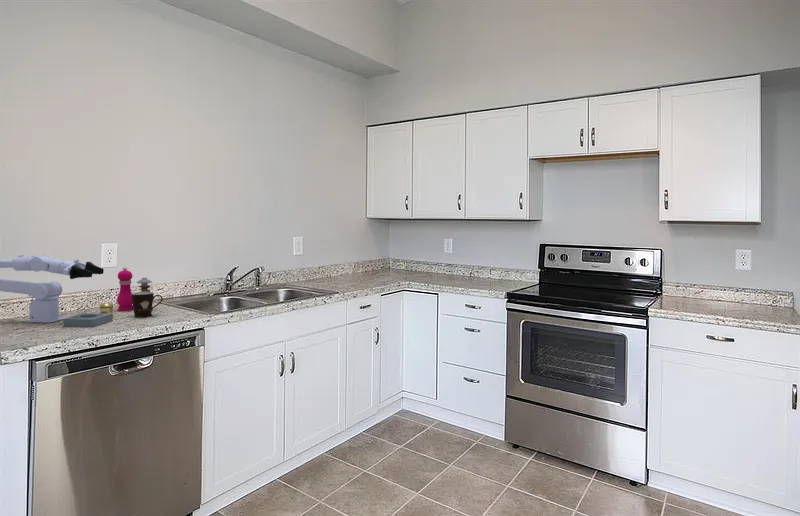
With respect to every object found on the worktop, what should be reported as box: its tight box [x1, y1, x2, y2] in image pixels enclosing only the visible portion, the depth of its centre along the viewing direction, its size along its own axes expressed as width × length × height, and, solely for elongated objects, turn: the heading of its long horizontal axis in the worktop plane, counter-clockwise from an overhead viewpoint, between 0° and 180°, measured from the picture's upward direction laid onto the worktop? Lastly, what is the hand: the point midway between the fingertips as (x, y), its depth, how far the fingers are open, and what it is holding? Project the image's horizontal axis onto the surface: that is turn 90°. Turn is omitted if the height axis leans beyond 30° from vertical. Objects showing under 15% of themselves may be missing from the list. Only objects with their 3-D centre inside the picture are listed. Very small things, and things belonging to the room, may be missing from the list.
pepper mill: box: [116, 266, 134, 312], centre depth 224 cm, size 7×7×20 cm
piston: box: [98, 302, 114, 316], centre depth 206 cm, size 5×5×6 cm
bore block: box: [62, 312, 114, 328], centre depth 194 cm, size 12×12×3 cm
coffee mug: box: [131, 291, 164, 318], centre depth 211 cm, size 12×9×10 cm
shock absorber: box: [136, 277, 153, 292], centre depth 224 cm, size 6×6×15 cm
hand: (97, 273), depth 197 cm, fingers open, 7 cm apart
